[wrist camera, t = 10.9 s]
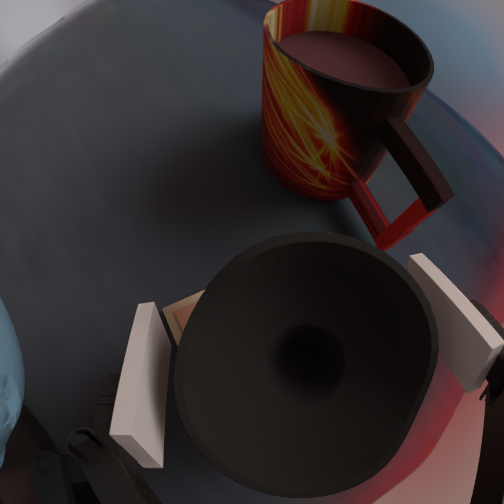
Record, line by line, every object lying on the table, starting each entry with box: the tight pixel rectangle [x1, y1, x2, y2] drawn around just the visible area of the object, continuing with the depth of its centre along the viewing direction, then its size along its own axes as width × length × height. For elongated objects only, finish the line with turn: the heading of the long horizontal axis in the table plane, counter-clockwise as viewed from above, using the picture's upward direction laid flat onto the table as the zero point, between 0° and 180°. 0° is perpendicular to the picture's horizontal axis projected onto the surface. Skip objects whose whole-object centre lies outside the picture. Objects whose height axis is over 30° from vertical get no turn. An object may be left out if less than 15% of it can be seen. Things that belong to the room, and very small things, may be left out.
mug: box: [261, 0, 454, 251], centre depth 18 cm, size 10×14×12 cm
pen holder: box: [173, 232, 439, 498], centre depth 14 cm, size 9×9×10 cm
